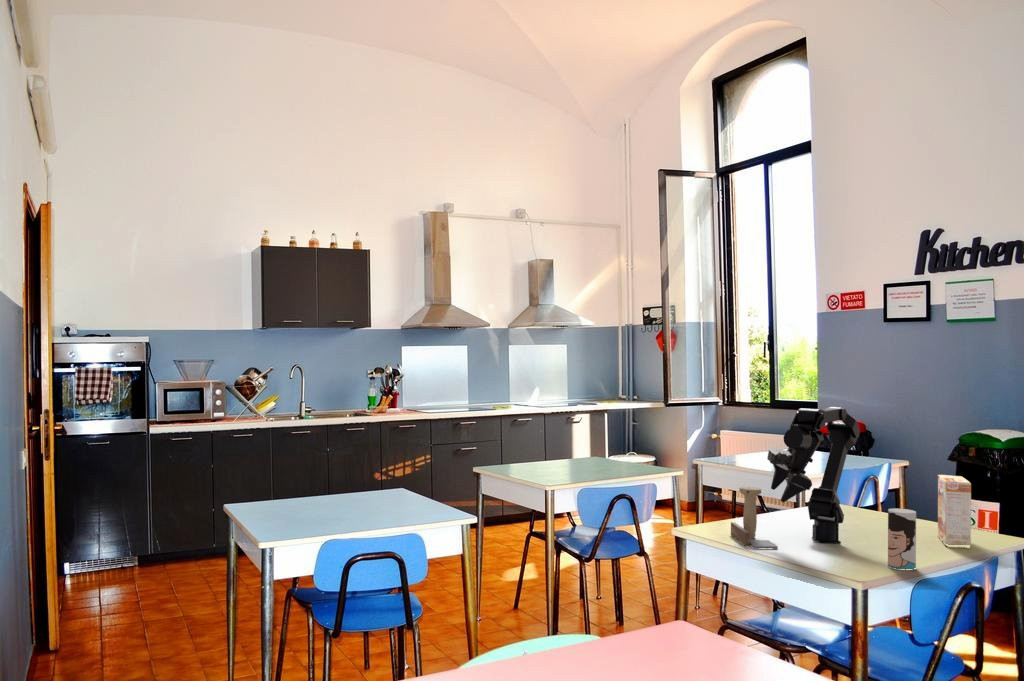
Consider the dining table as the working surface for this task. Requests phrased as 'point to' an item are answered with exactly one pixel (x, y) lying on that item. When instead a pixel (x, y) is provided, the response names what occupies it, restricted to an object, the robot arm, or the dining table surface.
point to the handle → (750, 509)
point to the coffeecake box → (954, 510)
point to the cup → (901, 538)
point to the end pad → (762, 544)
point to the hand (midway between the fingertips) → (777, 495)
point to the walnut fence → (740, 534)
